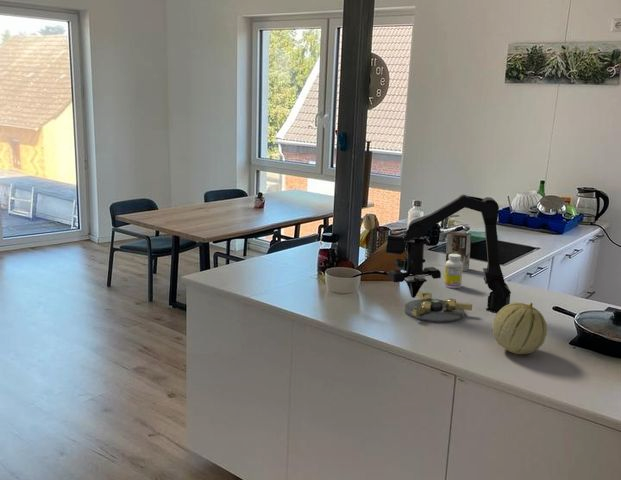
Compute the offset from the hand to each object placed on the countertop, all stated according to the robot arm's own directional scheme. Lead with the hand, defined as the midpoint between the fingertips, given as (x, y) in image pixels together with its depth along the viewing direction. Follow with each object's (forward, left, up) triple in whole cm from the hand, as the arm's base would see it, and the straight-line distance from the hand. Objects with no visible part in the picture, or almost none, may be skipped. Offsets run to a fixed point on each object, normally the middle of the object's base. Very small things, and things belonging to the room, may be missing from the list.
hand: (413, 297), depth 207 cm
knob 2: (-10, +10, -1) cm, 14 cm away
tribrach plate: (-10, +2, -3) cm, 11 cm away
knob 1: (-3, -2, -1) cm, 4 cm away
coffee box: (+13, -55, -3) cm, 57 cm away
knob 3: (-17, -2, -1) cm, 17 cm away
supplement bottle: (+1, -30, -3) cm, 30 cm away
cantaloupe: (-45, +14, -3) cm, 47 cm away
